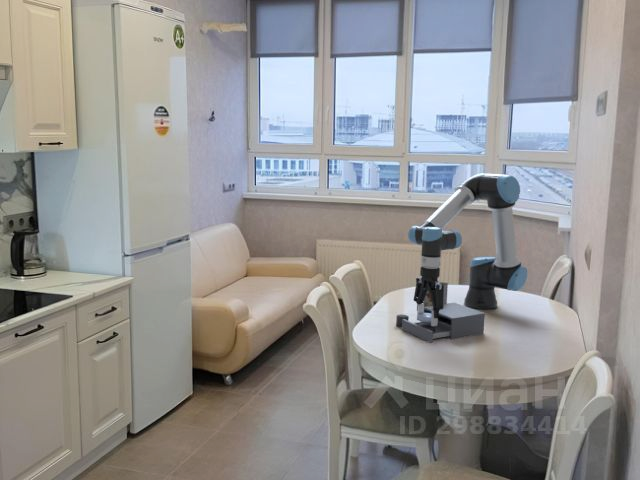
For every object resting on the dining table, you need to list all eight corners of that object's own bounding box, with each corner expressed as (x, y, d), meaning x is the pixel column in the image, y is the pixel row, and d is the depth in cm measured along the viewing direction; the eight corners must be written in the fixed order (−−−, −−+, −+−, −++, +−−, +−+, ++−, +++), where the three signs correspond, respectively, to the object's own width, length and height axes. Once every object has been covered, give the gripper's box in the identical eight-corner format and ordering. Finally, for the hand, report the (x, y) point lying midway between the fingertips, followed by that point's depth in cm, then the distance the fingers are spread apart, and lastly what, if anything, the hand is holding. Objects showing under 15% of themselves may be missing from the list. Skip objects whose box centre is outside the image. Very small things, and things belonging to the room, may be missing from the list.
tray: (434, 324, 257) (435, 314, 256) (464, 336, 242) (464, 326, 241) (401, 329, 249) (402, 319, 248) (430, 342, 233) (431, 331, 233)
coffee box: (446, 318, 267) (448, 282, 264) (442, 322, 261) (444, 285, 258) (426, 315, 271) (428, 280, 268) (421, 318, 265) (423, 282, 263)
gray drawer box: (453, 321, 262) (454, 302, 261) (483, 333, 247) (484, 313, 245) (422, 326, 254) (423, 307, 252) (451, 339, 238) (452, 318, 237)
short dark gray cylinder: (403, 323, 258) (403, 314, 258) (410, 326, 254) (411, 317, 253) (393, 324, 256) (394, 315, 255) (401, 327, 252) (401, 318, 251)
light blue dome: (429, 315, 248) (429, 312, 248) (441, 321, 241) (441, 317, 241) (413, 317, 244) (413, 313, 244) (424, 323, 237) (425, 319, 237)
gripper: (406, 262, 246) (403, 317, 250) (440, 272, 228) (436, 331, 232) (420, 261, 250) (417, 315, 253) (455, 271, 232) (451, 328, 236)
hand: (426, 322), depth 243 cm, fingers closed on light blue dome, 8 cm apart
